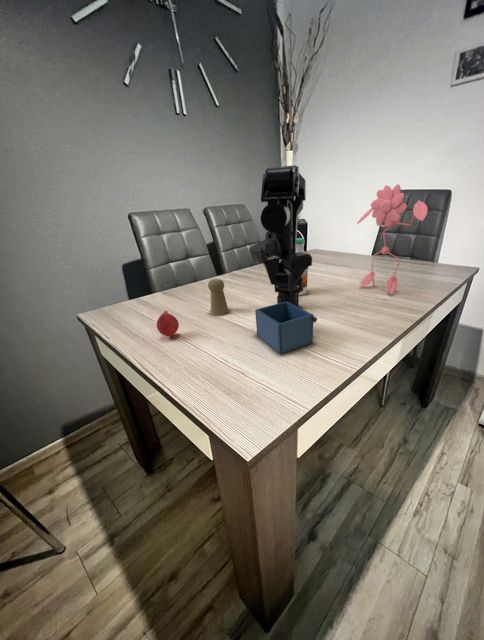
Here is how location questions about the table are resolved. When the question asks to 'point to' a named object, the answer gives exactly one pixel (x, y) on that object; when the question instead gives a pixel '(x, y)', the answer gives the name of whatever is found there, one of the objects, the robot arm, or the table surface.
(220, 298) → the tan chess pawn
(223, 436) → the table surface
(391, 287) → the figurine
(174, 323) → the onion
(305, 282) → the milk bottle
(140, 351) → the table surface
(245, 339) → the table surface
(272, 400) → the table surface
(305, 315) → the blue drawer
